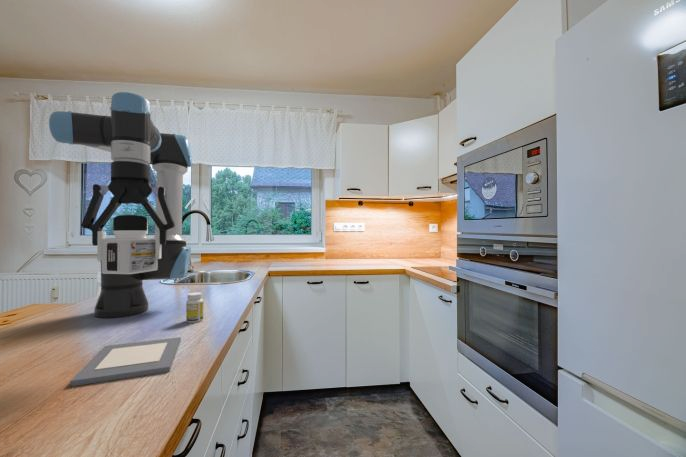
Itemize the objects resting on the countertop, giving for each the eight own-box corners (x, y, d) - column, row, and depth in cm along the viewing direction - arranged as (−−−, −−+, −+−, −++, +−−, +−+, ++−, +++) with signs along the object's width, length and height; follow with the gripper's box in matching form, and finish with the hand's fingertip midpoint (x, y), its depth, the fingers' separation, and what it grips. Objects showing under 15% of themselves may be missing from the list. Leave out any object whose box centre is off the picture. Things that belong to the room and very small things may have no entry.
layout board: (104, 350, 74) (104, 345, 74) (180, 341, 80) (180, 336, 80) (70, 386, 57) (70, 379, 57) (169, 371, 63) (169, 365, 63)
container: (130, 274, 67) (130, 213, 67) (100, 273, 68) (100, 214, 69) (158, 270, 74) (158, 215, 74) (131, 269, 76) (131, 216, 76)
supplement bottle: (198, 317, 100) (198, 291, 100) (206, 320, 98) (206, 293, 98) (183, 321, 97) (183, 294, 96) (191, 323, 94) (191, 296, 94)
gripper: (60, 155, 64) (60, 263, 64) (184, 163, 72) (184, 259, 72) (77, 163, 71) (76, 260, 71) (188, 169, 79) (188, 256, 79)
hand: (130, 259), depth 71 cm, fingers closed on container, 10 cm apart
